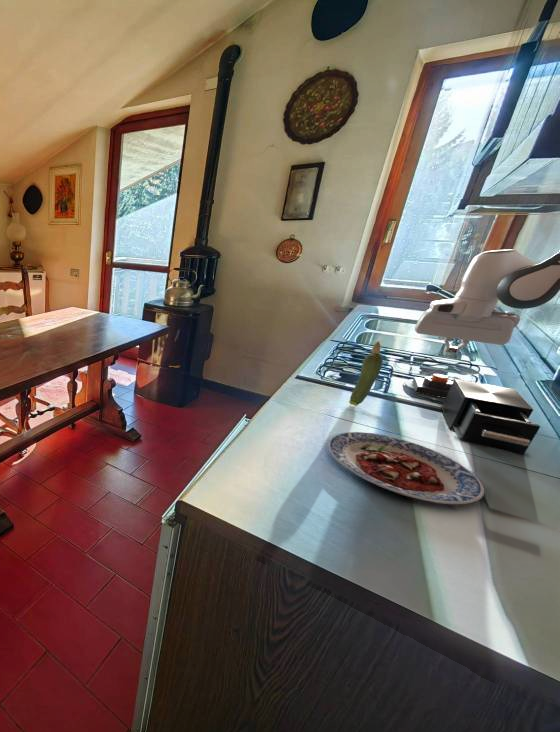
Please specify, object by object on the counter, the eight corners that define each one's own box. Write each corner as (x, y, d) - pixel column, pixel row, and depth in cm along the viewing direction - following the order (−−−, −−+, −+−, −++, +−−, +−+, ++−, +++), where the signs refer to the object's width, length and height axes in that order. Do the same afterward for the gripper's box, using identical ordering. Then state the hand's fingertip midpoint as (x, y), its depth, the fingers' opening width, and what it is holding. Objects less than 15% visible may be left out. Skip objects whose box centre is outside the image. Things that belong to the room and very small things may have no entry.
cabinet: (513, 444, 95) (533, 409, 92) (449, 429, 102) (465, 396, 98) (497, 421, 106) (515, 389, 102) (440, 409, 113) (454, 378, 109)
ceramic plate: (513, 527, 70) (521, 514, 69) (345, 493, 78) (349, 481, 77) (438, 451, 92) (444, 441, 91) (313, 431, 100) (317, 421, 99)
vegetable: (354, 401, 117) (378, 337, 108) (369, 408, 113) (395, 342, 105) (344, 403, 115) (366, 339, 107) (358, 410, 111) (383, 343, 103)
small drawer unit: (529, 465, 86) (547, 435, 83) (464, 449, 91) (479, 420, 88) (506, 432, 99) (521, 404, 96) (450, 420, 105) (463, 393, 102)
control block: (452, 390, 125) (457, 378, 123) (458, 401, 118) (464, 389, 116) (411, 382, 130) (416, 371, 129) (415, 392, 123) (420, 381, 121)
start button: (445, 380, 123) (447, 375, 122) (447, 384, 120) (449, 378, 119) (430, 377, 125) (432, 372, 124) (431, 381, 122) (434, 376, 121)
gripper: (520, 311, 110) (496, 357, 116) (424, 301, 121) (407, 343, 127) (527, 315, 105) (502, 363, 111) (427, 304, 116) (408, 348, 122)
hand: (450, 352), depth 119 cm, fingers closed
